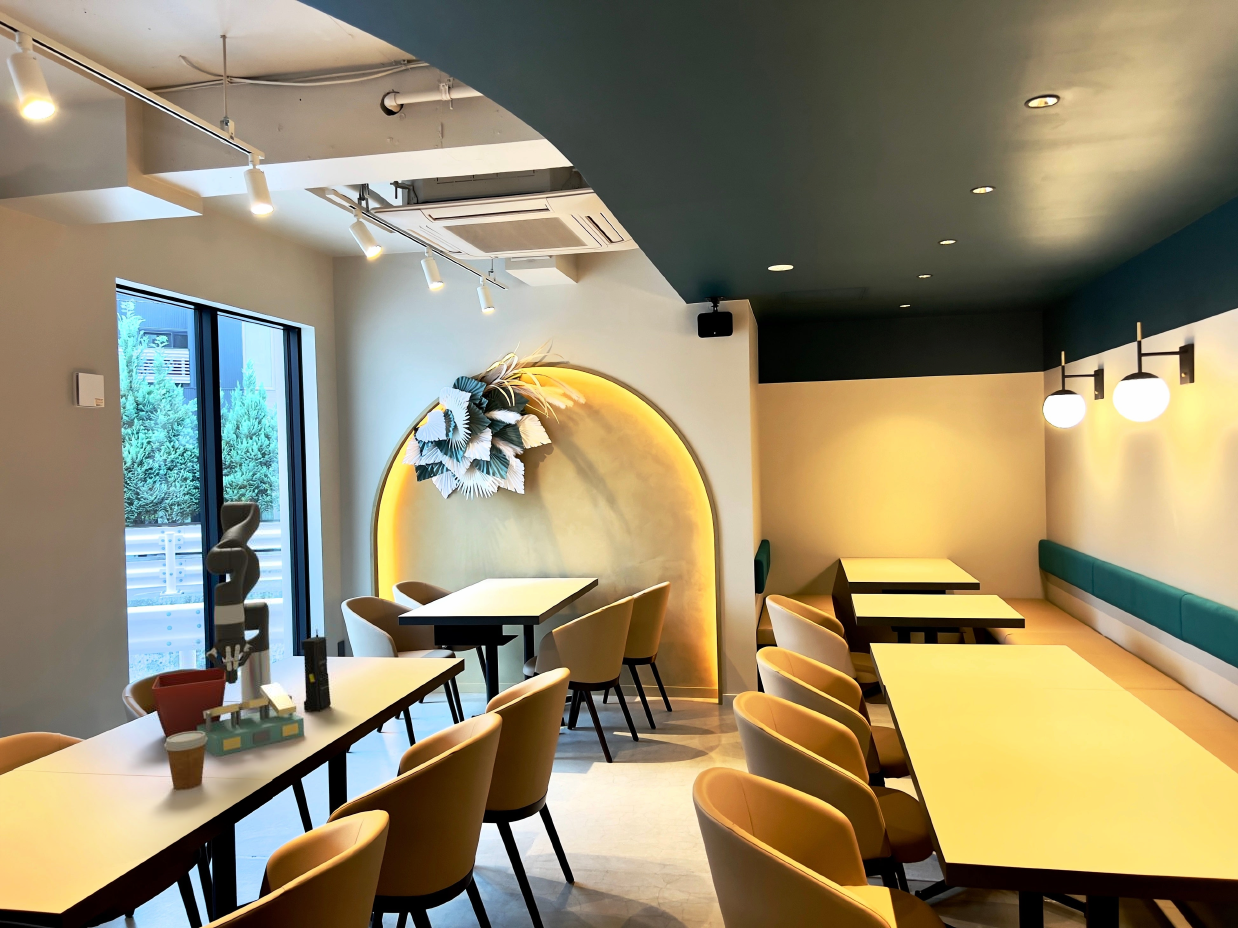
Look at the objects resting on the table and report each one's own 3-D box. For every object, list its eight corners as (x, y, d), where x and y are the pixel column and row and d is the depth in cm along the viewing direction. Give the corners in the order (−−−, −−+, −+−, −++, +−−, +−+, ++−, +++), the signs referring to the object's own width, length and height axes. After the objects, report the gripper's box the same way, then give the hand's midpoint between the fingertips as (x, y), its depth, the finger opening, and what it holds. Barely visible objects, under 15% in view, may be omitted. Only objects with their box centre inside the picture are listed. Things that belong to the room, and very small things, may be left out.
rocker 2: (233, 712, 250) (232, 705, 250) (250, 708, 253) (250, 701, 253) (249, 707, 239) (249, 700, 239) (268, 704, 242) (267, 696, 243)
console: (197, 742, 244) (196, 707, 244) (282, 723, 260) (280, 690, 261) (217, 756, 231) (215, 718, 232) (304, 735, 248) (303, 700, 248)
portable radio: (318, 712, 271) (315, 633, 271) (301, 712, 272) (298, 633, 272) (332, 705, 279) (329, 629, 279) (315, 705, 280) (312, 629, 280)
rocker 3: (260, 691, 255) (260, 685, 255) (277, 688, 259) (277, 682, 258) (278, 715, 245) (279, 709, 244) (295, 712, 248) (296, 705, 248)
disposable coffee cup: (176, 779, 215) (174, 731, 215) (215, 776, 216) (213, 729, 216) (158, 793, 206) (157, 743, 206) (200, 790, 206) (198, 740, 206)
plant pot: (160, 729, 259) (158, 674, 259) (229, 720, 267) (227, 666, 267) (153, 747, 242) (151, 688, 242) (227, 736, 249) (225, 679, 249)
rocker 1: (203, 718, 244) (203, 711, 245) (222, 714, 248) (221, 707, 248) (219, 714, 234) (218, 706, 234) (238, 710, 237) (237, 702, 237)
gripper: (249, 615, 244) (251, 676, 244) (199, 622, 235) (201, 685, 235) (258, 618, 239) (261, 680, 239) (208, 625, 230) (211, 690, 230)
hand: (231, 683), depth 237 cm, fingers closed
